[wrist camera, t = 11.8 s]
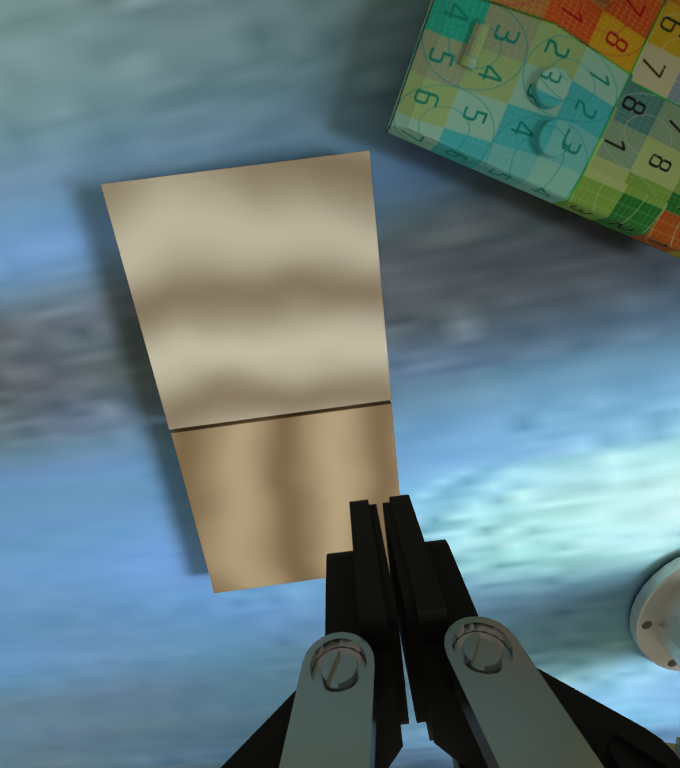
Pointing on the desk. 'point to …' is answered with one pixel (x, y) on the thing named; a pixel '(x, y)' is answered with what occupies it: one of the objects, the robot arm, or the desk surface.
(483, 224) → the desk surface
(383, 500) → the oak floorboard
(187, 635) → the desk surface
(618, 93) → the puzzle game
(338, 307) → the birch plank
